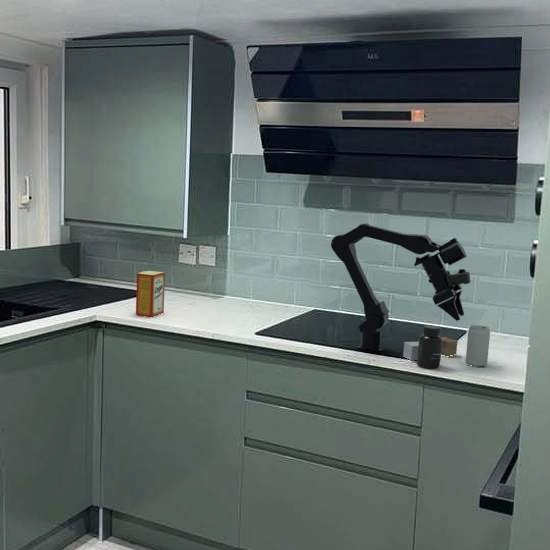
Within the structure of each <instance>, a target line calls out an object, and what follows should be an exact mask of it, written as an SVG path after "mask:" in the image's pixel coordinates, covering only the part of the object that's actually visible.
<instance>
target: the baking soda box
mask: <svg viewBox="0 0 550 550" xmlns="http://www.w3.org/2000/svg"><path fill="white" fill-rule="evenodd" d="M165 273H166V272H165V271H157V270H155V271H154V270H145V271H141V272H138V273H136V291H135V293H136V295H135V296H136V297H135V298H136V299H135V301H136V302H135V316H136V315H138V316H137V317H143V316H146V317H145V318H151V317H152V318H155V317H157V316H156V315H158V316H160V315H162V314H161V313H163V314H165V313H164V311H165V283H166V281H165V280H166V279H165V277H166V274H165ZM159 314H160V315H159ZM154 316H155V317H154Z"/></svg>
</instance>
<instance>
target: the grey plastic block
mask: <svg viewBox="0 0 550 550" xmlns="http://www.w3.org/2000/svg"><path fill="white" fill-rule="evenodd" d="M418 345H419V341H404V342H403V355H402V358H403V357H405V358H407V359H409V360H410V361H414V360H417V355H418ZM405 358H404V359H405ZM410 361H409V362H410Z"/></svg>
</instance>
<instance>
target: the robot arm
mask: <svg viewBox="0 0 550 550" xmlns="http://www.w3.org/2000/svg"><path fill="white" fill-rule="evenodd" d="M364 238H369V239H370V238H371V239H373V240H378V241H381V242H385V243H389V244H393V245H397V246H400V247H402V248H403V249H405V250H407V251H409V252H411V253H414V254H416V255H419V256H416V257H415V262H414V267H418V266H419V265H421V267H422V268H423V270H424V272H425V274H426V275H427V278H428V282H429V284H431V285H432V287H433V289H434V291H435V292H434V293H435V294H434V295H433V297H432V301H433V303H434V305H435V306H437V307H438V308H439V309H441V310H442V311H444V312H445V313H446V314H448V315H449V316H450V317H451V318H452V319H454V320H455V321H456V322H458V321H460V320H461V317H463V316H464V315H465V312H464V308H463V304H462V301H461V300H462V299H461V295H462V293H463V290H462V289H463V288H462V285H463V284H464V285H469V284H470V283H471V274H470V272H469V271H467V270H466V268H460V269H458V271H457V272H455V273H451V272H450V270H447V269H446V267H445V265H447V264H448V266H452V265H454V264H456V263H457V262H460V261H461V260H463V259H466V258H467V253H466V251H465V249H464V246H462V244H461V243H460V242H459V240H458V239H457V238H456V237H453V238H452V239H450V240H449V241H447V242H444V243H443V244H442V245H440V244H439V243H437V242H435V241H432V239H431V237H430V236H429V235H426V234H420V233H419V234H418V233H403V232H400V231H395V230H391V229H387V228H384V227H379V226H375V225H372V224H369V223H361V224H359V225H358V226H357V227H355V228H353V229H352V230H350V231H348V232H345V234H339V235H335V236H334V237H333V238H332V240H331V241H330V246H331V247H330V248H331V250H332V251H333V252H334V254H335V255H336V257H337V258H338V259H339V260H340V261H341V262H342V263H343V264H344V266H345V268H346V271H347V272H348V275H349V277H350V279H351V280H352V282H353V285H354V286H355V289H356V293H358V295H359V298H360V300H361V303H362V305H363V312H364V317H365V321H363V322H362V323H360V325H359V326H358V328H359V332H360V339H359V342H360V343H359V345H356V346H355V348H356V349H358V348H359V349H358V350H360V349H361V351H362V350H364V351H363V352H365V351H366V353H373V352H372V351H378V352H384V349H382V348H380V347H381V332H380V330H382V328H383V326H385V325H386V324H387V323H388V322H389V319H390V314H389V313H390V310H389V309H388V308H387V306H386V303H385V300H382V301H379V300H378V298H377V297H376V295H375V293H374V291H373V289H372V287H371V285H370V282H369V281H368V279H367V277H366V275H365V273H364V271H363V269H362V267H361V264H360V262H359V259H358V257H357V249H356V243H358V242H360V241H361V240H362V239H364ZM437 251H438V252H437ZM435 252H437V253H435ZM426 253H427V254H426ZM431 253H432V254H433V253H435V254H433V255H431ZM424 254H425V255H424ZM420 255H424V256H421V257H420Z"/></svg>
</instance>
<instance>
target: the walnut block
mask: <svg viewBox="0 0 550 550" xmlns="http://www.w3.org/2000/svg"><path fill="white" fill-rule="evenodd" d="M441 338H442V350H441V354H442V355H445V356H450V355H454V354H456V355H457V351H458V340H457V339H452V338H450V337H445V336H444V337H441Z"/></svg>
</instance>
